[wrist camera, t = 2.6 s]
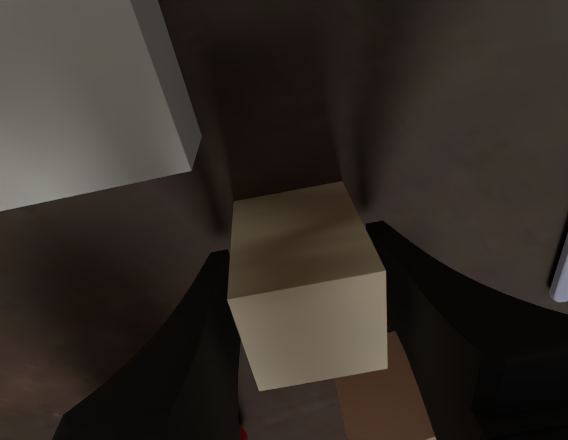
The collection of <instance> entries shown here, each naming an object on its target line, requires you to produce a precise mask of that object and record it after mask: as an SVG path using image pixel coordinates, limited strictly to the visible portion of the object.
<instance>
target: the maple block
mask: <svg viewBox="0 0 568 440" xmlns="http://www.w3.org/2000/svg"><path fill="white" fill-rule="evenodd" d="M227 301H228V303H229V306H230V309H231V312H232V315H233V318H234V321H235V323H236V326H237V329H238V332H239V335H240V338H241V340H242V343H243V346H244V349H245V352H246V355H247V358H248V360H249V363H250V366H251V369H252V372H253V375H254V377H255V380H256V383H257V386H258V389H259V391H264V390H269V389H275V388H281V387H286V386H292V385H298V384H303V383H309V382H315V381H320V380H326V379H332V378H337V377H343V376H349V375H354V374H360V373H366V372H371V371H377V370H383V369H388V362H387V304H386V270H385V268H384V266H383V264H382V262H381V260H380V258H379V255H378V253H377V251H376V249H375V247H374V245H373V243H372V241H371V239H370V237H369V235H368V233H367V231H366V229H365V227H364V225H363V223H362V220H361V218H360V216H359V214H358V212H357V210H356V208H355V206H354V204H353V202H352V200H351V198H350V196H349V194H348V192H347V190H346V188H345V185H344V183H343V181H340V182H335V183H329V184H324V185H319V186H313V187H308V188H303V189H297V190H292V191H287V192H281V193H276V194H271V195H265V196H260V197H255V198H249V199H244V200H239V201H234V205H233V220H232V235H231V250H230V265H229V279H228V294H227Z"/></svg>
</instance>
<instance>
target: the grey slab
mask: <svg viewBox="0 0 568 440" xmlns="http://www.w3.org/2000/svg"><path fill="white" fill-rule="evenodd" d="M201 138H202V135H201V132H200V129H199V126H198V123H197V120H196V117H195V114H194V110H193V107H192V104H191V101H190V98H189V95H188V92H187V89H186V86H185V83H184V80H183V77H182V74H181V70H180V67H179V64H178V61H177V58H176V55H175V52H174V49H173V46H172V43H171V40H170V37H169V33H168V30H167V27H166V24H165V21H164V18H163V15H162V12H161V9H160V6H159V3H158V0H0V211H4V210H9V209H13V208H18V207H23V206H28V205H32V204H37V203H42V202H46V201H51V200H56V199H61V198H65V197H70V196H75V195H80V194H84V193H89V192H94V191H99V190H103V189H108V188H113V187H118V186H122V185H127V184H132V183H136V182H141V181H146V180H151V179H155V178H160V177H165V176H170V175H174V174H179V173H184V172H189V171H191V170H192V167H193V164H194V161H195V157H196V154H197V151H198V148H199V144H200V141H201Z"/></svg>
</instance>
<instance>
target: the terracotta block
mask: <svg viewBox="0 0 568 440" xmlns="http://www.w3.org/2000/svg"><path fill="white" fill-rule="evenodd" d="M387 362H388V369H383V370H377V371H371V372H366V373H360V374H354V375H349V376H343V377H337V378H334V380H335V385H336V389H337V394H338V398H339V403H340V408H341V412H342V417H343V421H344V426H345V431H346V435H347V440H436V438H435V435H434V432H433V429H432V426H431V423H430V420H429V417H428V414H427V411H426V408H425V405H424V402H423V399H422V397H421V394H420V391H419V388H418V385H417V382H416V380H415V377H414V374H413V372H412V369H411V366H410V363H409V361H408V358H407V356H406V353H405V351H404V349H403V346H402V344H401V342H400V340H399V338H398V336H397V334H396V332H395V331H393V332H390V333H387Z"/></svg>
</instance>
